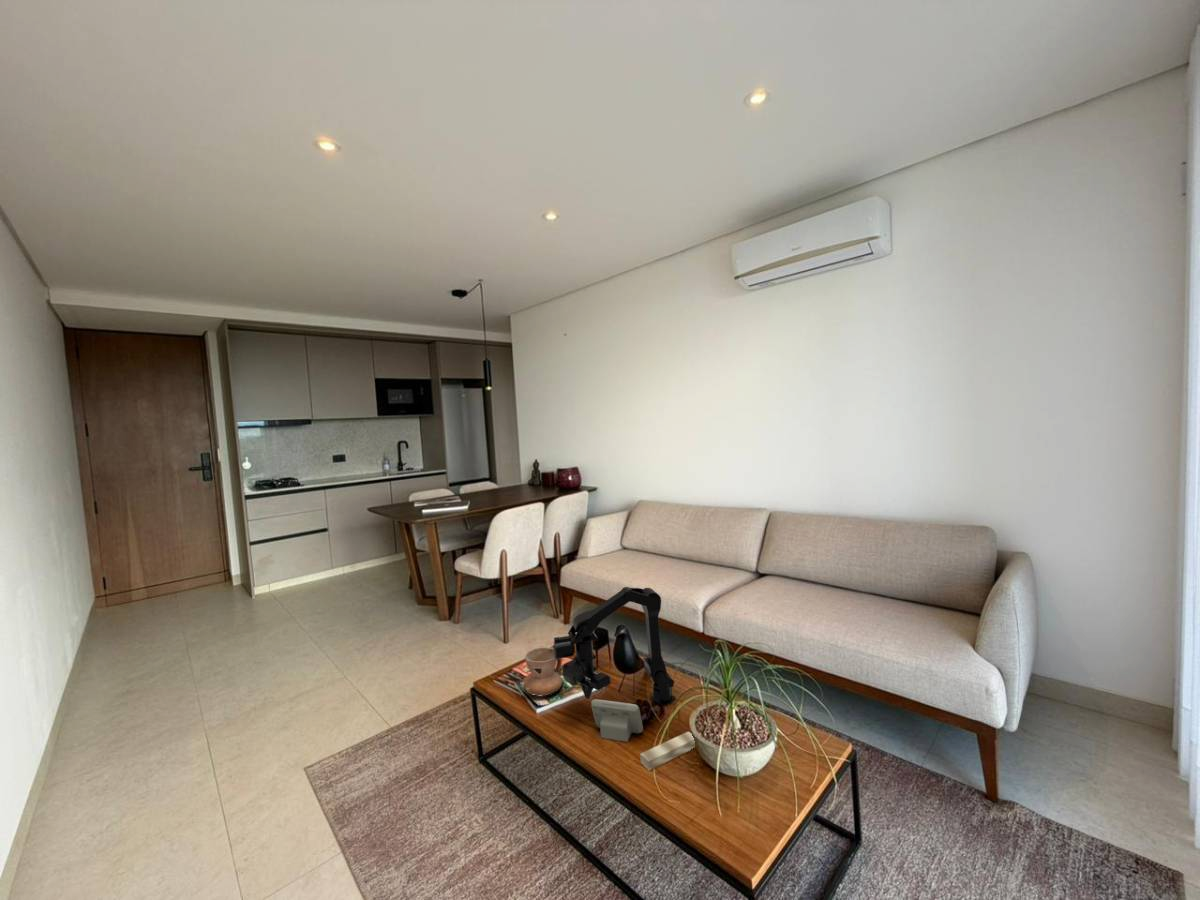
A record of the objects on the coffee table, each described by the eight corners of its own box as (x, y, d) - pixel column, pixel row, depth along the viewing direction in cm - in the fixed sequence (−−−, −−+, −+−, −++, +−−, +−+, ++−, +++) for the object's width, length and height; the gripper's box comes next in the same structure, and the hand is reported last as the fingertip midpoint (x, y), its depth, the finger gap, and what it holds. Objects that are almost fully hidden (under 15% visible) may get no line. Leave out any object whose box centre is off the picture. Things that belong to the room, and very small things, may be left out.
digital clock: (646, 731, 157) (644, 699, 156) (633, 748, 149) (631, 714, 148) (602, 719, 165) (600, 688, 164) (588, 734, 157) (586, 702, 157)
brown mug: (536, 707, 174) (534, 668, 174) (513, 692, 185) (511, 655, 184) (574, 687, 187) (573, 650, 186) (551, 674, 197) (549, 639, 197)
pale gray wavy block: (688, 740, 151) (688, 731, 151) (697, 747, 148) (697, 738, 148) (640, 763, 142) (640, 753, 142) (649, 771, 139) (648, 761, 139)
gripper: (549, 653, 168) (552, 698, 169) (584, 671, 154) (588, 719, 155) (574, 642, 175) (576, 685, 176) (610, 658, 162) (613, 704, 162)
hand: (587, 698), depth 167 cm, fingers closed
